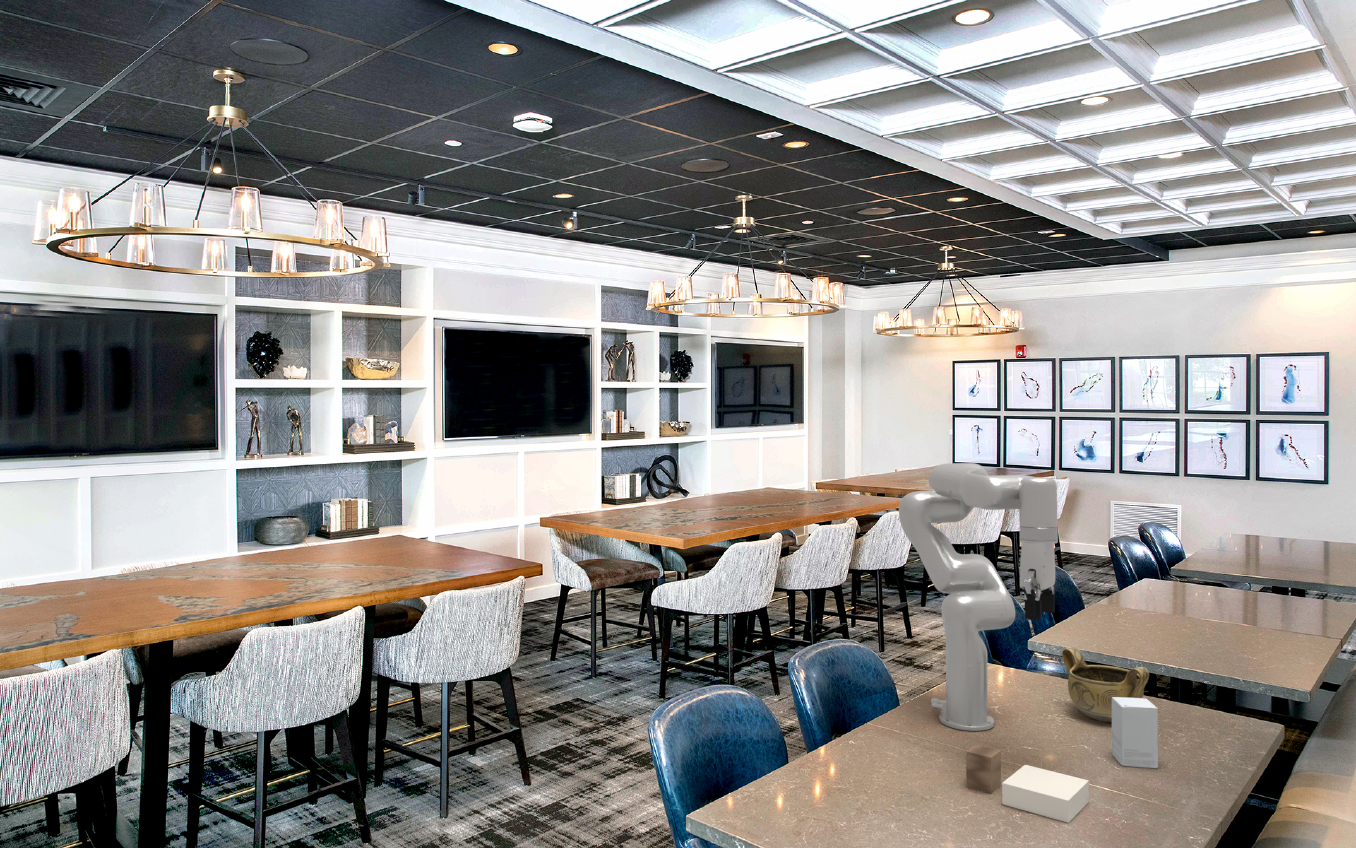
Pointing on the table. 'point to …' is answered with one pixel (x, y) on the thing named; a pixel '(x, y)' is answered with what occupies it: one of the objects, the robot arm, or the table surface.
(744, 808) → the table surface
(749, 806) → the table surface
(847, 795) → the table surface
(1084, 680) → the ceramic bowl
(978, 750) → the walnut block
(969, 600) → the robot arm
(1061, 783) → the base
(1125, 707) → the supplement box
